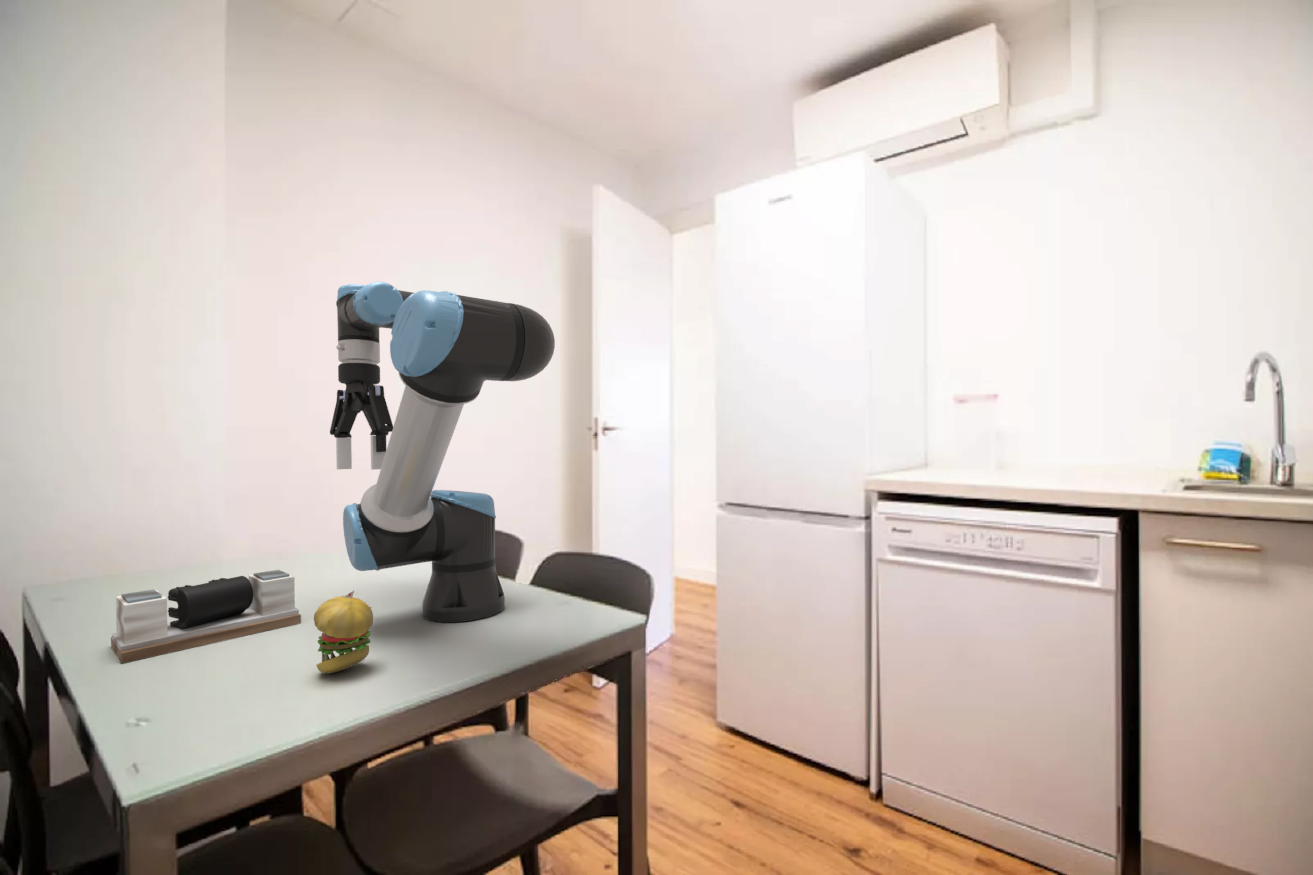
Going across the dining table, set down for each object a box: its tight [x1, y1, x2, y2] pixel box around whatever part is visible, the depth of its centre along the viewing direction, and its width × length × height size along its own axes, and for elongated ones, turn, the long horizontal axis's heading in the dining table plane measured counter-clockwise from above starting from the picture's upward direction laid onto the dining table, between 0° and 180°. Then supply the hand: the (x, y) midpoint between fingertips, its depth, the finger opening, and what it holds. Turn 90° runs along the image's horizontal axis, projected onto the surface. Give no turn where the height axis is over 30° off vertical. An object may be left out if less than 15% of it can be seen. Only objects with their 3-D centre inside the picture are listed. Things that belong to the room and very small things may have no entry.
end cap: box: [167, 575, 253, 629], centre depth 99 cm, size 10×7×7 cm
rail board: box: [110, 569, 302, 664], centre depth 99 cm, size 11×24×9 cm, turn 140°
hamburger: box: [313, 589, 374, 674], centre depth 83 cm, size 8×7×12 cm
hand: (361, 469), depth 116 cm, fingers open, 13 cm apart
